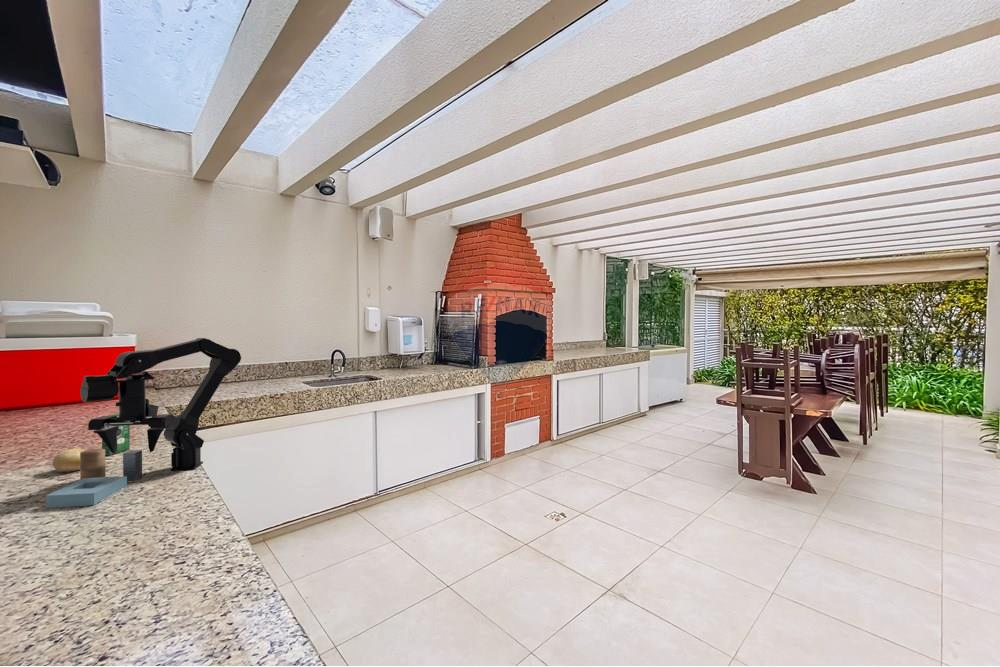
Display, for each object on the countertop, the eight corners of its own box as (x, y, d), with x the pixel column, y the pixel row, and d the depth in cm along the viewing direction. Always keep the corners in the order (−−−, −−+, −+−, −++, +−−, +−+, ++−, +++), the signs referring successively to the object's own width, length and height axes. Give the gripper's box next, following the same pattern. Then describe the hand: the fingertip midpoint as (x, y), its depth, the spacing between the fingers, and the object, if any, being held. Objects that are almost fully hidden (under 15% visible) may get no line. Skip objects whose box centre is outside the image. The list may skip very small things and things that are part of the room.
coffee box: (122, 449, 154) (122, 411, 153) (130, 449, 154) (130, 411, 153) (101, 456, 146) (100, 416, 145) (109, 456, 146) (109, 416, 145)
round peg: (110, 476, 127) (109, 448, 127) (97, 482, 122) (96, 453, 122) (89, 476, 126) (89, 449, 126) (75, 483, 121) (75, 454, 121)
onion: (96, 467, 134) (95, 444, 134) (63, 476, 127) (62, 451, 126) (79, 465, 137) (79, 442, 137) (46, 473, 129) (45, 448, 129)
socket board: (126, 487, 118) (126, 476, 118) (94, 505, 107) (94, 493, 106) (84, 489, 117) (83, 478, 117) (45, 508, 105) (45, 495, 105)
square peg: (142, 477, 126) (142, 450, 125) (135, 481, 123) (135, 453, 123) (130, 478, 125) (130, 450, 125) (123, 482, 122) (123, 453, 122)
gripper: (184, 391, 133) (185, 443, 133) (114, 393, 130) (115, 445, 130) (163, 398, 122) (164, 454, 122) (85, 399, 119) (86, 457, 119)
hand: (133, 452), depth 124 cm, fingers open, 9 cm apart
